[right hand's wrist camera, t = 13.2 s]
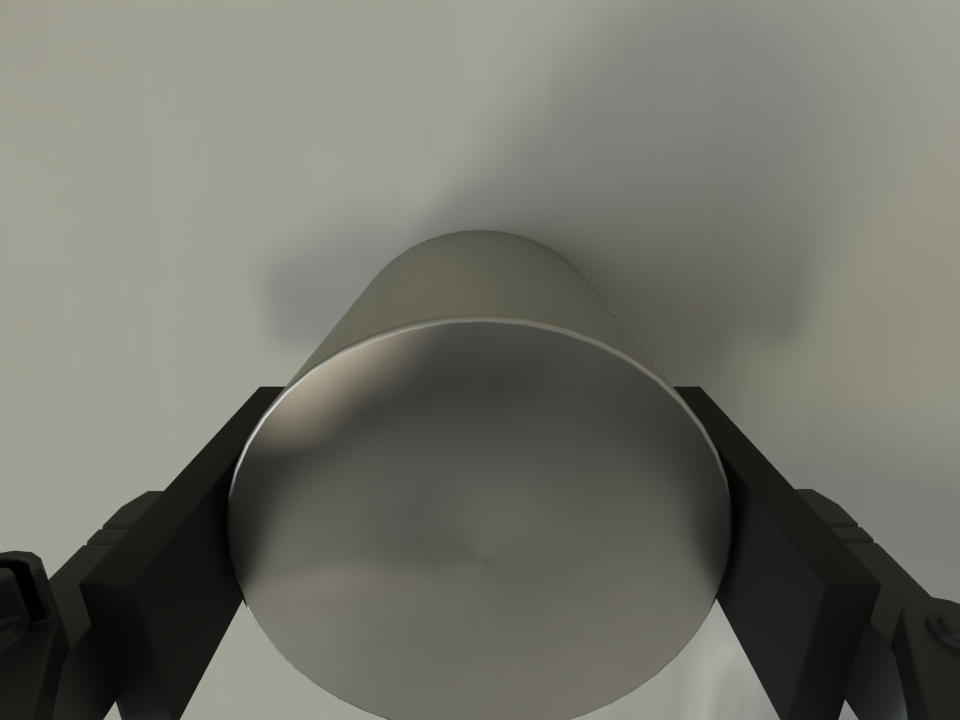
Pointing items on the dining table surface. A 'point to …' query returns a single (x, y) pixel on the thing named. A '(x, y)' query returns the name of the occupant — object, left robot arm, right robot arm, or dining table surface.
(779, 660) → the right robot arm
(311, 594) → the canister
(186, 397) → the dining table surface
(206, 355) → the dining table surface
